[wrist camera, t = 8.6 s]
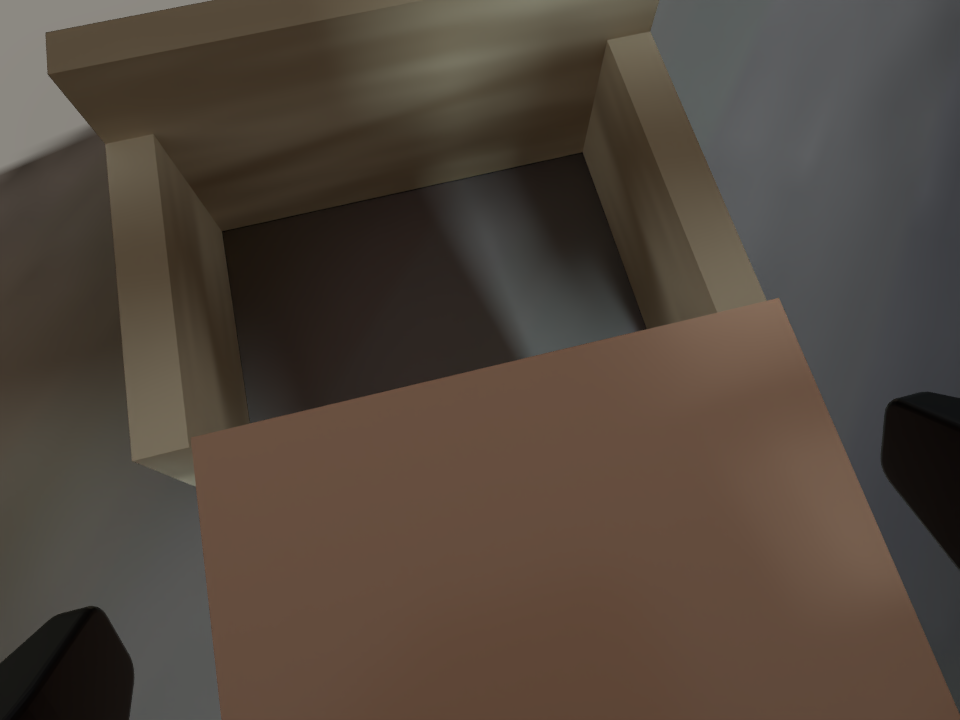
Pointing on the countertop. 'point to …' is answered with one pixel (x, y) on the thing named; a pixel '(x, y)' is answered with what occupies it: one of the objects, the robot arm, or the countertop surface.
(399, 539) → the brown rectangular block
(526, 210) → the countertop surface
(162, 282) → the cubby
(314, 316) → the countertop surface
